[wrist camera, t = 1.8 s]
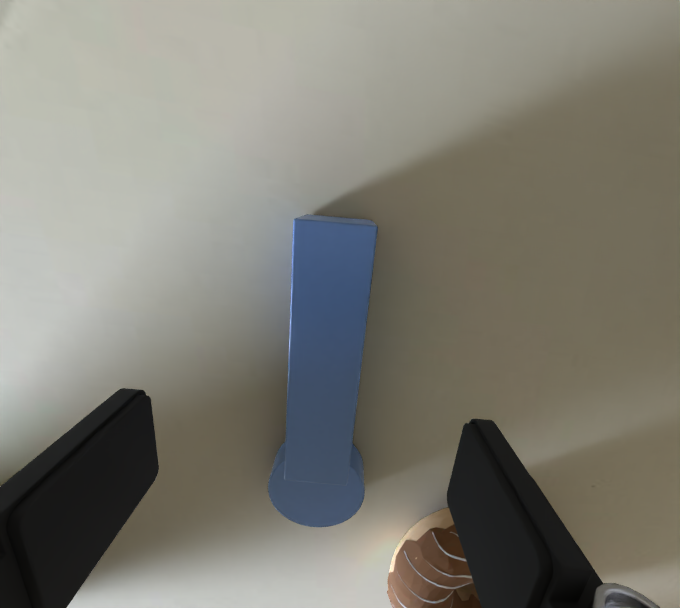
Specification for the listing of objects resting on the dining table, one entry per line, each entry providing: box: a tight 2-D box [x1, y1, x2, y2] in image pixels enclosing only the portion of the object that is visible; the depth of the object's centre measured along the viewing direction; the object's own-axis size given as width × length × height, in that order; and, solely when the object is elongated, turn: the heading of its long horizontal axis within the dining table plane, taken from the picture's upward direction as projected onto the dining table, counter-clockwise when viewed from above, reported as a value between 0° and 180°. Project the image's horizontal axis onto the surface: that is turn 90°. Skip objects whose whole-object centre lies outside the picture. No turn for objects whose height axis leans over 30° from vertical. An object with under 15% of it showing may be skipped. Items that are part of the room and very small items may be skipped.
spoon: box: [268, 214, 378, 527], centre depth 15 cm, size 17×5×3 cm, turn 175°
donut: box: [387, 507, 482, 608], centre depth 19 cm, size 11×11×4 cm
